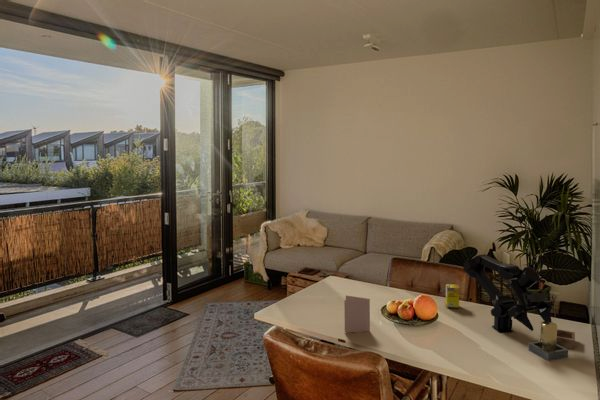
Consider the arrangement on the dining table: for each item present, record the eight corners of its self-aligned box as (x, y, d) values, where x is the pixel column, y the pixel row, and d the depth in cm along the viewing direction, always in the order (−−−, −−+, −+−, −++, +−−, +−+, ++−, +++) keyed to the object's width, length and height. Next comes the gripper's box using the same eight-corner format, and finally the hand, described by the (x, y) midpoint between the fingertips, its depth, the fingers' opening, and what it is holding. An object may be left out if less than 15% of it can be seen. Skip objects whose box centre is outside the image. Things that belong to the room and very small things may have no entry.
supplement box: (459, 309, 219) (459, 288, 218) (446, 308, 221) (447, 287, 219) (457, 304, 225) (457, 284, 224) (445, 304, 226) (445, 283, 225)
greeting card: (370, 330, 196) (370, 298, 194) (364, 337, 189) (364, 303, 187) (346, 326, 201) (346, 294, 199) (340, 332, 194) (340, 299, 193)
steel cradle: (548, 361, 165) (548, 353, 164) (528, 350, 174) (528, 343, 173) (567, 357, 167) (568, 349, 167) (547, 346, 176) (547, 339, 176)
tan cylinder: (539, 352, 170) (540, 325, 168) (540, 346, 174) (541, 320, 173) (555, 355, 167) (556, 328, 165) (556, 350, 171) (557, 323, 170)
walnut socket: (548, 343, 179) (548, 335, 178) (549, 335, 186) (549, 327, 186) (574, 348, 174) (574, 340, 174) (574, 340, 182) (574, 332, 181)
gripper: (514, 286, 173) (535, 323, 164) (552, 281, 178) (574, 317, 169) (499, 298, 181) (518, 335, 172) (535, 293, 187) (556, 328, 177)
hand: (542, 328), depth 172 cm, fingers open, 9 cm apart
